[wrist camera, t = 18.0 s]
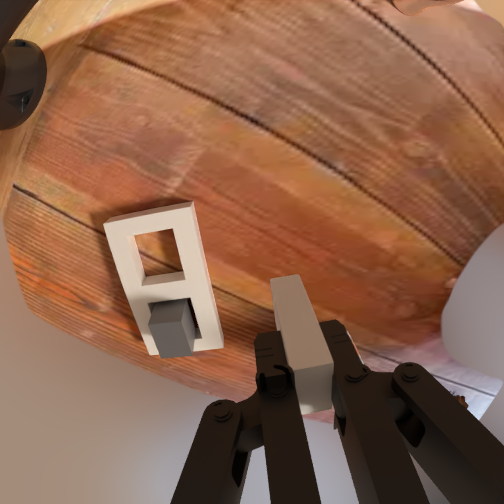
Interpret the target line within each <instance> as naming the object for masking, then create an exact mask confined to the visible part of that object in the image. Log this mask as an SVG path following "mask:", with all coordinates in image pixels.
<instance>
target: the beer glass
mask: <svg viewBox="0 0 504 504" xmlns="http://www.w3.org/2000/svg"><path fill="white" fill-rule="evenodd" d="M391 1H392V2H393V4H394V5H395V7H396V8H397V9H398V10H399V11H401V12H402V13H404V14H406V15H409V16H416V15H419V14H420V13H422V12H423V11H424V10H425V9H427V8H430V7H438V6H446V5H452V4H455V3H458V2H461V1H463V0H391Z"/></svg>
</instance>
